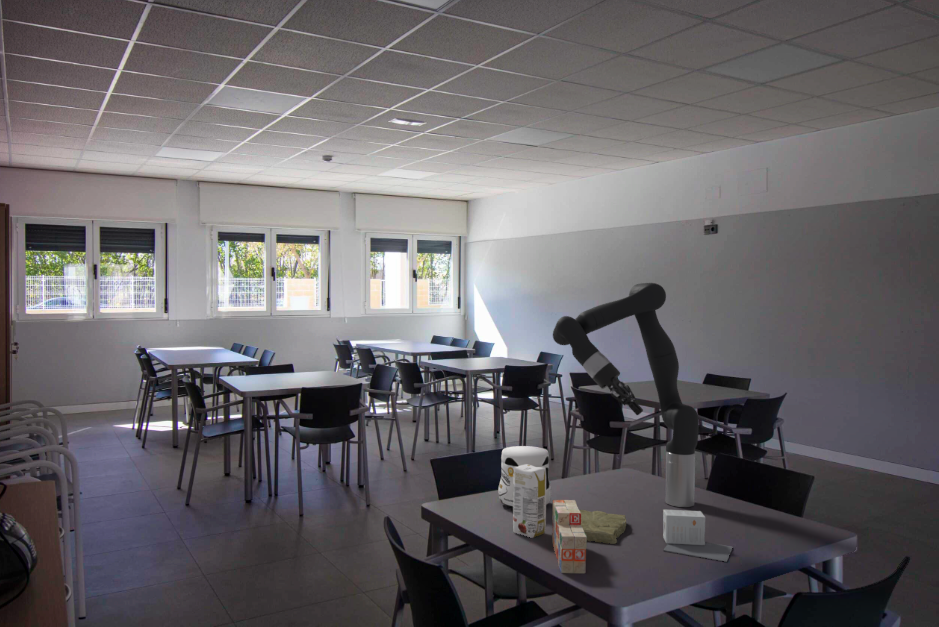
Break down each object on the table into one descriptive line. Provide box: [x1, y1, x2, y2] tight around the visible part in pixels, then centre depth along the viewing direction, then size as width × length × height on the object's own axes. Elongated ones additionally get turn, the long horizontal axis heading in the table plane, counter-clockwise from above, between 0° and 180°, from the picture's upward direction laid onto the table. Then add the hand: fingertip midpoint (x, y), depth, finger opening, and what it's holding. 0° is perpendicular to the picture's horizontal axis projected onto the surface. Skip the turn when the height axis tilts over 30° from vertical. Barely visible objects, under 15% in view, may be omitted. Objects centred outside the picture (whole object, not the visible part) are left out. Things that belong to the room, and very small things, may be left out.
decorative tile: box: [579, 509, 627, 545], centre depth 197 cm, size 19×20×4 cm
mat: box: [662, 541, 734, 563], centre depth 182 cm, size 12×16×1 cm
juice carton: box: [512, 464, 547, 539], centre depth 193 cm, size 8×9×19 cm
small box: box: [662, 509, 706, 545], centre depth 187 cm, size 8×6×10 cm
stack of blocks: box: [551, 499, 588, 574], centre depth 175 cm, size 21×6×12 cm, turn 179°
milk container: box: [497, 445, 552, 509], centre depth 220 cm, size 17×17×18 cm
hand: (640, 413), depth 200 cm, fingers closed
